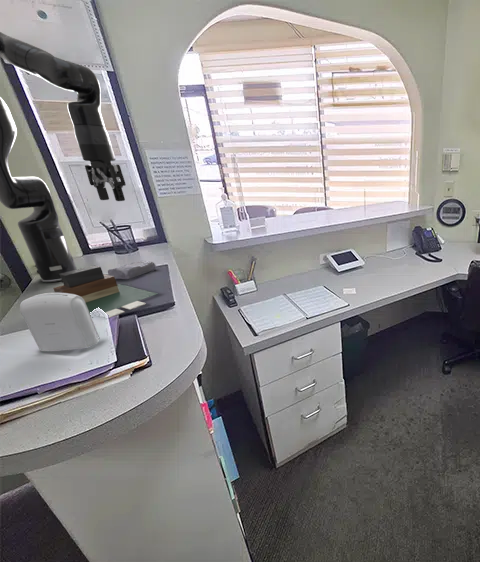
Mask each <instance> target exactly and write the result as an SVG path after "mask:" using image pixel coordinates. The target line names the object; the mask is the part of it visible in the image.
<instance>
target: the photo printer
mask: <svg viewBox="0 0 480 562" xmlns="http://www.w3.org/2000/svg"><path fill="white" fill-rule="evenodd" d="M19 311H20V312H19V313H20V314H21V317H22V318H23V320H24V322H25V324H26V326H27V328H28V330H29V332H30V334H31V336H32V338H33V341H34V342H35V343H36V346H37V347H38V349H39V351H40V352H57V351H60V352H61V351H72V350H84V349H89V348H90V347H93V346H95V345H97V344H98V343H99V342H100V340H101V337H100V334H99V332H98V330H97V327H96V325H95V322H94V320H93V317H92V318H91V315H90V313H89V310H88V308H87V306H86V303H85V301H84V299H83V298H82V297H80V296H78V295H74V294H69V293H55V292H45V293H39V294H35V295H32V296H30V297H28V298H26V299H24V300H22V301H21V302H20V304H19ZM98 337H99V338H98Z"/></svg>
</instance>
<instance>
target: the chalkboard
mask: <svg viewBox="0 0 480 562" xmlns="http://www.w3.org/2000/svg"><path fill="white" fill-rule="evenodd" d="M117 286H118V289H119V292H117V293H114V294H111V295H108V296H105V297H102V298H99V299H96V300H92V301H89V302H86V306H87V308H88V310H89V313H90V312H92V311H93V310H94V309H96V308H98V307H99V308H100V309H102V310H103V311H104V312H108V311H111V310H114V309H120V308H122V306H125V305H127V304H130V303H133V302H136V301H139V302H141V301H142V300H145V299H148V298H151V297H153V296H156V295H159V293H157V292H154V291H151V290H145V289H141V288H137V287H133V286H130V285H125V284H121V283H117Z"/></svg>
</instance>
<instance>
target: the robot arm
mask: <svg viewBox="0 0 480 562" xmlns="http://www.w3.org/2000/svg"><path fill="white" fill-rule="evenodd" d="M0 58H2V59H4V60H6V61H7V62H8V63H10V64H11V65H12V66H13V67H15V68H17V69H19V70H21V71H24V72H26V73H28V74H31V75H33V76H36V77H38V78H41V79H43V80H44V81H46V82H47V83H49V84H51V85H53V86H54V87H57V88H60V89H62V90H65V91H69V92H75V93H76V94H77V98H76V99H77V100H76V101H70V102H68V103H67V111H68V114H69V117H70V120H71V123H72V126H73V131H74V132H73V133H74V136H75V140H76V143H77V145H78V148H79V151H80V154H81V158H82V160H83V161H84V162H85V161H86V162H90V164H84V169H85V172H86V175H87V178H88V182H89V185H90V186H93V187H94V188H95V189H96V191H97V194H98V197H99V200H100V201H109V200H110V198H109V197H110V196H109V194H108V191H107V188H106V183H108V184H109V185H110V187H111V190H112V194H113V197H114V199H115V201H116V202H124V201H125V200H126V199H125V195H124V191H123V188H124V186H126V181H125V177H124V175H123V171H122V168H121V165H120V164H113V163H112V162H114V161H116V155H115V152H114V148H113V144H112V142H111V137H110V135H109V132H108V131H107V128H106V125H105V121H104V118H103V115H102V111H101V110H102V109H101V106H102V99H101V97H102V94H101V93H102V91H101V90H102V89H101V84H100V81H99V79H98V77H97V75H96V73H94V72H93V70H92V69H90V68H89V67H87V66H85V65H82V64H79V63H75V62H73V61H72V62H71V61H68V60H65V59H63V58H59V57H57V56H54V55H53V54H52V53H50V52H48V51H46V50H44V49H42V48H40V47H37V46H35V45H32V44H30V43H28V42H25V41H23V40H19V39H18V38H15V37H12V36H9V35H7V34H5V33H3V32H1V31H0ZM17 134H18V130H17V126H16V123H15V121H14V118H13V116H12V114H11V110H10V108H9V107H8V105H7V104H6V102H5V100H4V99H3V98H2V97H1V96H0V203H1V204H2V205H3V206H4V207H5V208H6V209H9V210H10V209H11V210H21V209H29V208H33V211H32V213H31V214H30V215H28V216H27V217H24V218H23V219H20V220H19V221H17V226H18V227H17V228H18V229H19V231H20V233H21V235H22V238H23V240H24V242H25V244H26V247H27V249H28V252H29V254H30V256H31V258H32V260H33V263H34V265H35V268H36V269H37V270H36V273H38V275H39V277H40V280H41V282H42V283H57V282H61V281H62V279H61V277H60V275H59V274H61V273H65V272H69V271H73V270H77V266H76V263H75V261H74V259H73V256H72V253H71V251H70V248H69V245H68V243H67V240H66V237H65V235H64V232H63V230H62V227H61V225H60V221H59V220H60V219H59V214H58V212H57V209H56V205H55V202H54V198H53V196H52V192H51V191H50V189H49V186H48V185H47V183H46V182H45V180H43V179H41V178H40V177H38V176H12V174H11V171H10V167H9V166H10V165H9V158H10V154H11V150H12V148H13V146H14V143H15V141H16V138H17Z"/></svg>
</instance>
